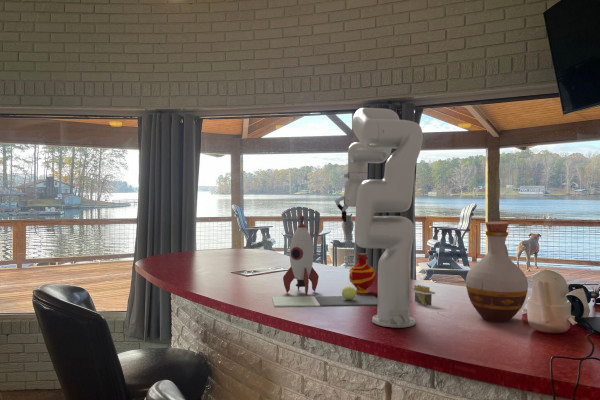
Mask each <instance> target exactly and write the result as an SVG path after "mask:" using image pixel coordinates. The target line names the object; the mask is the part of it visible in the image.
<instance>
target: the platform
mask: <svg viewBox="0 0 600 400" xmlns="http://www.w3.org/2000/svg"><path fill="white" fill-rule="evenodd" d="M410 292H414V302H417V303H420V304H422V305H423V306H427V305H428V306H432V295H436V291H432V290H430V287H428V286H425V285H420V284H417V285H416V284H415V285H414V287H411V288H410Z"/></svg>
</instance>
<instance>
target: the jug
mask: <svg viewBox="0 0 600 400" xmlns="http://www.w3.org/2000/svg"><path fill="white" fill-rule="evenodd" d="M509 224H510V223H509V222H508V221H487V222H485V226H486V227H485V228H486V229H487V231H485V236H487V241H488V251H487V254H486V255H484V256H483V257H482V258H481V259H480V260H479V261H478V262H477V263H476V264H475V265H473V266H472V267H471V268H470V269H469V271H468V272H467V274H466V278H465V286H466V292H467V296H468V298H469V301H470V303H471V305H472V307H474V309H475V310H476V312H477V313H478V315H479V316H480V317H481V318H482V319H483V320H485V321H489V322H495V323H496V322H497V323H506V322H510V321H511V320H512V319H513V318H514V317H515V316H516V315H517V313H518V312H519V311H521V309H522V308H523V305H524V304H525V301H526V298H527V295H528V289H529V282H528V278H527V276H526V274H525V273H524V271H523V270H521V268H520V267H519V266H517V264H515V262H514V261H512V260H511V258H510V257H509V252H508V250H509V249H508V247H507V244H506V240H507V237H508V235H509V231H507V230H508V227H509Z"/></svg>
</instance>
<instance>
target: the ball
mask: <svg viewBox="0 0 600 400" xmlns="http://www.w3.org/2000/svg"><path fill="white" fill-rule="evenodd" d="M341 296H343V297H344V298H345V299H346V300H352V299H354V297H355V296H357V293H356V289H355V287H353V286H351V285H346V286H344V287H343V288H342V290H341Z"/></svg>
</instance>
